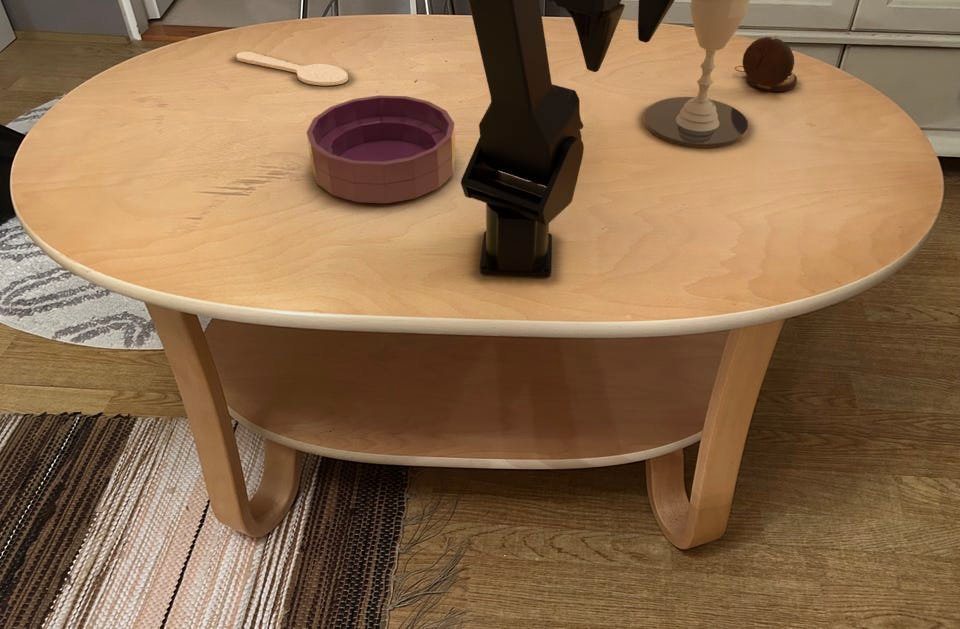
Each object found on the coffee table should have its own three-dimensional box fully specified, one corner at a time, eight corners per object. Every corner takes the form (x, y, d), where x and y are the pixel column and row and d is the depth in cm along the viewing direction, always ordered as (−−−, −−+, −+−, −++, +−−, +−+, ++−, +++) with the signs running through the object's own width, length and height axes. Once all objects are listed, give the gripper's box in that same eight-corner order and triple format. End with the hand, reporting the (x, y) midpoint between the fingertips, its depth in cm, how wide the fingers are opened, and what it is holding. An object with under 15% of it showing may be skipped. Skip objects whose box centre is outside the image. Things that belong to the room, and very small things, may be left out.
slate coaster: (755, 150, 89) (756, 145, 89) (648, 146, 90) (648, 141, 90) (737, 102, 98) (738, 98, 98) (640, 99, 99) (640, 95, 99)
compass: (801, 79, 104) (816, 23, 99) (782, 102, 99) (797, 44, 94) (742, 65, 107) (754, 10, 102) (720, 86, 102) (731, 30, 97)
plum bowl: (446, 210, 80) (444, 166, 77) (299, 204, 81) (291, 161, 78) (460, 138, 92) (460, 97, 89) (331, 133, 93) (325, 93, 90)
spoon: (251, 49, 112) (250, 45, 111) (357, 74, 105) (357, 70, 105) (225, 63, 108) (224, 59, 108) (333, 89, 101) (333, 85, 101)
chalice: (691, 102, 97) (720, -54, 86) (739, 121, 93) (776, -40, 82) (655, 121, 94) (679, -39, 82) (703, 141, 90) (736, -24, 78)
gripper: (617, -153, 77) (602, 10, 87) (495, -117, 66) (494, 64, 76) (723, -138, 71) (693, 34, 81) (609, -96, 60) (591, 97, 71)
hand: (619, 55), depth 77 cm, fingers open, 9 cm apart
